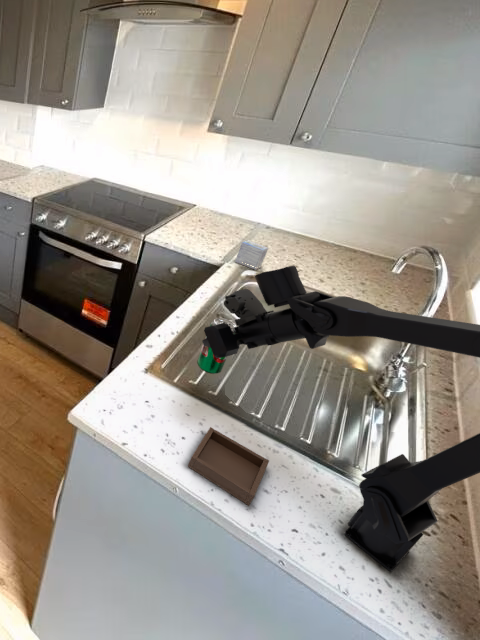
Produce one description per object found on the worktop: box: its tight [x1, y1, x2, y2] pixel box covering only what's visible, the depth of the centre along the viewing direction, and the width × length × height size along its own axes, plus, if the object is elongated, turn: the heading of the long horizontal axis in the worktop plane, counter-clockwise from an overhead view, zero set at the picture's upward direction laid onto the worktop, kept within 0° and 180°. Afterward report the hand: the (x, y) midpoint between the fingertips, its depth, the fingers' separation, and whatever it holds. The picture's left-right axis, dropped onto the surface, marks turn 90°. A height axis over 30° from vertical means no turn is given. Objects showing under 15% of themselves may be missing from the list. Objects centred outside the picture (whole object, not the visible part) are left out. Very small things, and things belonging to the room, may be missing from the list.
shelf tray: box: [187, 426, 270, 506], centre depth 81 cm, size 11×11×3 cm
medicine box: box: [234, 239, 269, 271], centre depth 163 cm, size 8×4×9 cm, turn 34°
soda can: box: [196, 317, 237, 375], centre depth 93 cm, size 5×5×12 cm
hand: (212, 340), depth 94 cm, fingers closed on soda can, 5 cm apart
